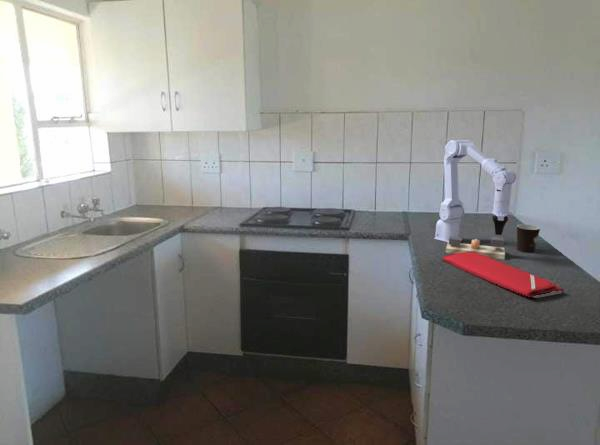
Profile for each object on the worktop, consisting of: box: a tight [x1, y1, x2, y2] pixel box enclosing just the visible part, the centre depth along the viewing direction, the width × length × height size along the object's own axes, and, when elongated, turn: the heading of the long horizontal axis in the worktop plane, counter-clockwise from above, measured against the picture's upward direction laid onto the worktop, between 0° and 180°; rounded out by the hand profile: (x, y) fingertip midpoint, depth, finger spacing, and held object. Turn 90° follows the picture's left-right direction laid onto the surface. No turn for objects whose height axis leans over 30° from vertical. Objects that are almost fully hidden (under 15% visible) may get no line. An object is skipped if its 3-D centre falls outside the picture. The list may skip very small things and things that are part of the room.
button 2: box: [490, 236, 505, 248], centre depth 186 cm, size 4×4×2 cm
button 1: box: [449, 236, 462, 246], centre depth 192 cm, size 4×4×2 cm
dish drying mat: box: [442, 252, 564, 298], centre depth 164 cm, size 16×41×4 cm, turn 21°
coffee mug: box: [516, 224, 541, 254], centre depth 193 cm, size 12×9×10 cm
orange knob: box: [470, 238, 481, 249], centre depth 189 cm, size 3×3×3 cm
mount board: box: [445, 242, 506, 260], centre depth 190 cm, size 22×10×3 cm, turn 68°
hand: (498, 234), depth 185 cm, fingers closed
